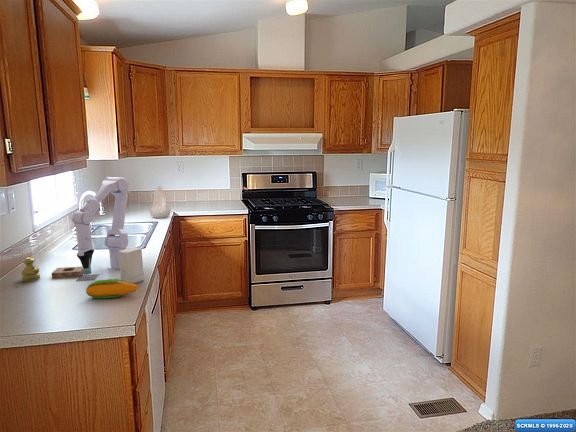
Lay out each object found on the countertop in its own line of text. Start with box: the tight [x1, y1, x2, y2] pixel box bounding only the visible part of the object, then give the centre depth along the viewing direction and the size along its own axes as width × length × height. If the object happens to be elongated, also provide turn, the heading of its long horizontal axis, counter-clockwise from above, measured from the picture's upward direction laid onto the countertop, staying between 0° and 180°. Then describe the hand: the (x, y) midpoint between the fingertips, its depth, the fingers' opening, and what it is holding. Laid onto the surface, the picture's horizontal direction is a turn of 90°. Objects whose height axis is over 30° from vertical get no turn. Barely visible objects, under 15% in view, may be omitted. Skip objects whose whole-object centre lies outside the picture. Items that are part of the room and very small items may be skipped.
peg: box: [83, 259, 92, 275], centre depth 193 cm, size 3×3×9 cm
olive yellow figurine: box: [20, 257, 41, 283], centre depth 192 cm, size 7×7×10 cm
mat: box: [75, 273, 100, 282], centre depth 194 cm, size 8×9×1 cm
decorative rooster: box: [149, 185, 171, 219], centre depth 335 cm, size 25×16×25 cm, turn 16°
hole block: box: [51, 265, 85, 279], centre depth 198 cm, size 12×8×3 cm, turn 100°
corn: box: [85, 278, 140, 299], centre depth 172 cm, size 7×8×20 cm
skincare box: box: [118, 246, 145, 284], centre depth 188 cm, size 8×6×15 cm
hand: (87, 267), depth 193 cm, fingers closed on peg, 3 cm apart
